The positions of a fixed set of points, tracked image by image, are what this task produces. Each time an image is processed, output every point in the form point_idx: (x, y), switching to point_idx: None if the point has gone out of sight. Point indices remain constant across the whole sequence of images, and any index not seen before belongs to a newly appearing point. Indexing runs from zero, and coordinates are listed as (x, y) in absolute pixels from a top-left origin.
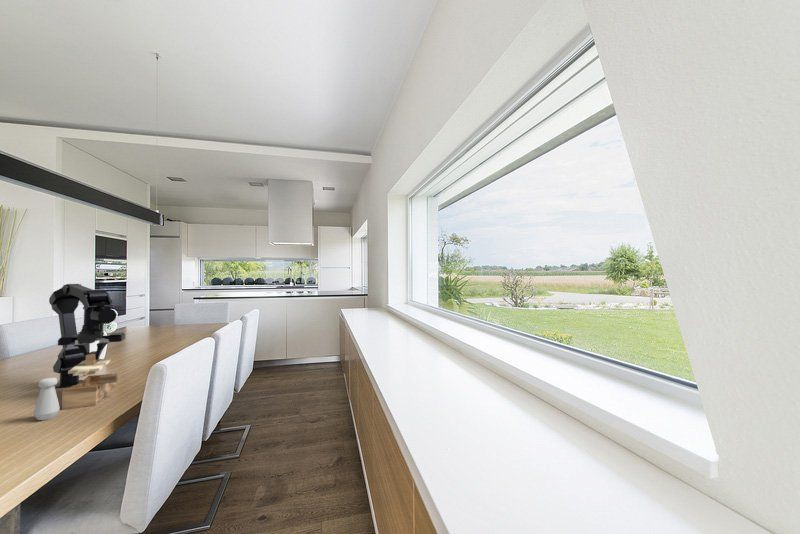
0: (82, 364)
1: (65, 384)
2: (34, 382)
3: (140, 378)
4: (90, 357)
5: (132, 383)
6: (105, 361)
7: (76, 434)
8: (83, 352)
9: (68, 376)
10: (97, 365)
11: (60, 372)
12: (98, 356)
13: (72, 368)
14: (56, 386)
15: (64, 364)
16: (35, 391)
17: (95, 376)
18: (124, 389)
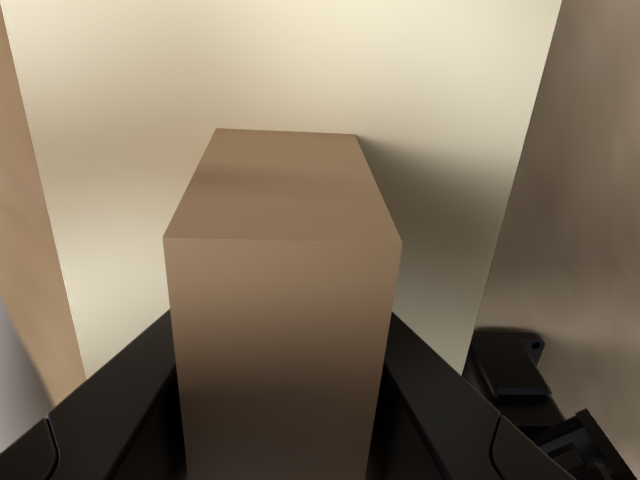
0: (420, 247)
1: (495, 339)
2: (635, 468)
3: (26, 339)
4: (268, 205)
5: (28, 235)
6: (102, 311)
7: None
8: (506, 437)
9: (503, 386)
10: (117, 48)
11: (577, 416)
12: (146, 332)
13: (552, 5)
14: (538, 346)
15: (602, 467)
16: (636, 315)
17: None
18: (13, 76)
